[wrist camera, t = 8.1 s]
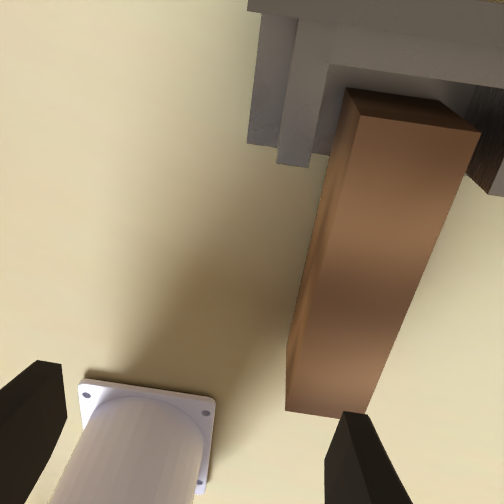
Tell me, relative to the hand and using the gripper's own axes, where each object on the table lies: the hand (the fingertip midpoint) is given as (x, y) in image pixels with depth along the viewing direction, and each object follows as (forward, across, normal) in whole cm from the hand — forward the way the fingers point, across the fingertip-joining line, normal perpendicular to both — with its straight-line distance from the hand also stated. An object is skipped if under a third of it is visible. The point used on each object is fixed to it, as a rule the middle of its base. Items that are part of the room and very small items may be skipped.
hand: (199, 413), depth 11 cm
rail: (+9, -5, -1) cm, 11 cm away
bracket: (+10, -5, -7) cm, 13 cm away
